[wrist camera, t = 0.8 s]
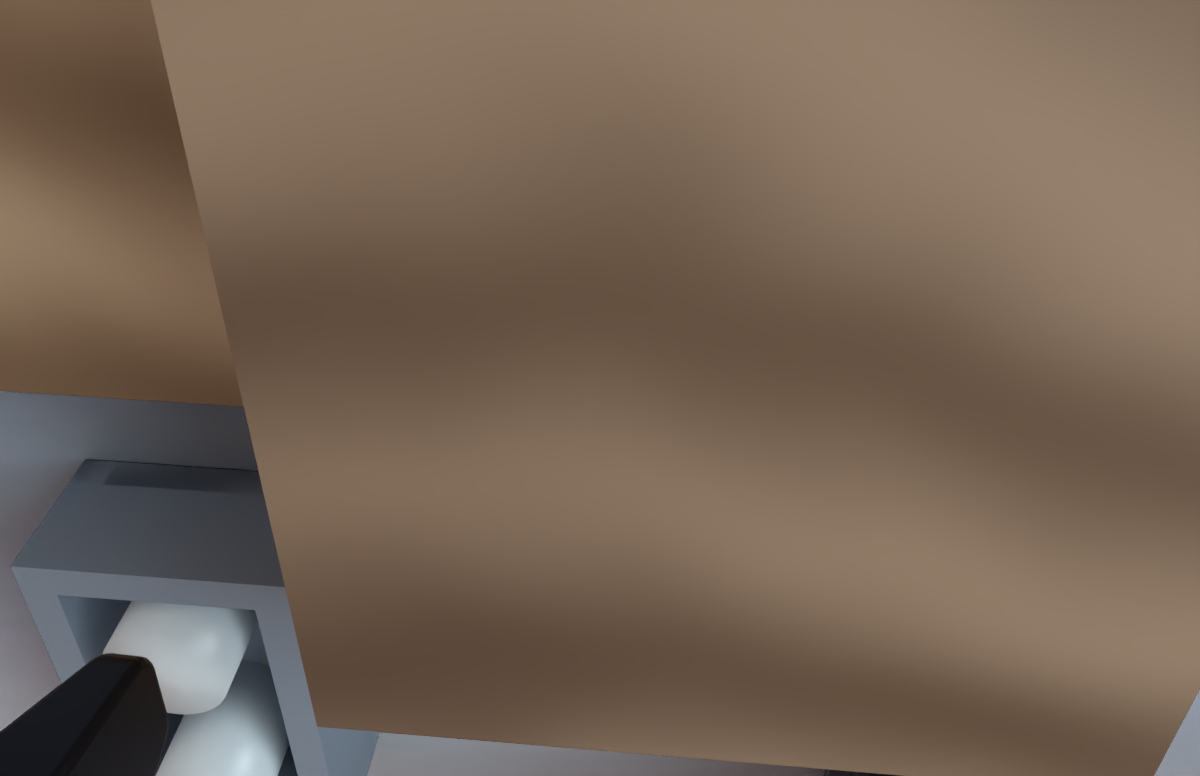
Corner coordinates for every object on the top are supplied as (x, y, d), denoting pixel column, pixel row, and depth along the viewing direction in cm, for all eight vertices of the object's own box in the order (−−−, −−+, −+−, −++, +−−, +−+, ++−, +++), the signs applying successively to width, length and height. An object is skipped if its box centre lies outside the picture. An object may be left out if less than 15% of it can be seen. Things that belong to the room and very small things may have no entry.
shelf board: (470, 392, 24) (437, 503, 21) (-162, 351, 25) (-275, 453, 22) (424, -251, 16) (363, -212, 14) (-469, -275, 17) (-697, -243, 15)
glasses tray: (378, 736, 32) (340, 867, 29) (176, 719, 32) (117, 846, 29) (332, 476, 26) (277, 605, 23) (85, 459, 26) (-3, 583, 23)
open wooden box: (1039, 491, 24) (1142, 796, 18) (412, 449, 25) (317, 727, 19) (1342, -401, 15) (1768, -373, 9) (312, -419, 16) (56, -406, 10)
